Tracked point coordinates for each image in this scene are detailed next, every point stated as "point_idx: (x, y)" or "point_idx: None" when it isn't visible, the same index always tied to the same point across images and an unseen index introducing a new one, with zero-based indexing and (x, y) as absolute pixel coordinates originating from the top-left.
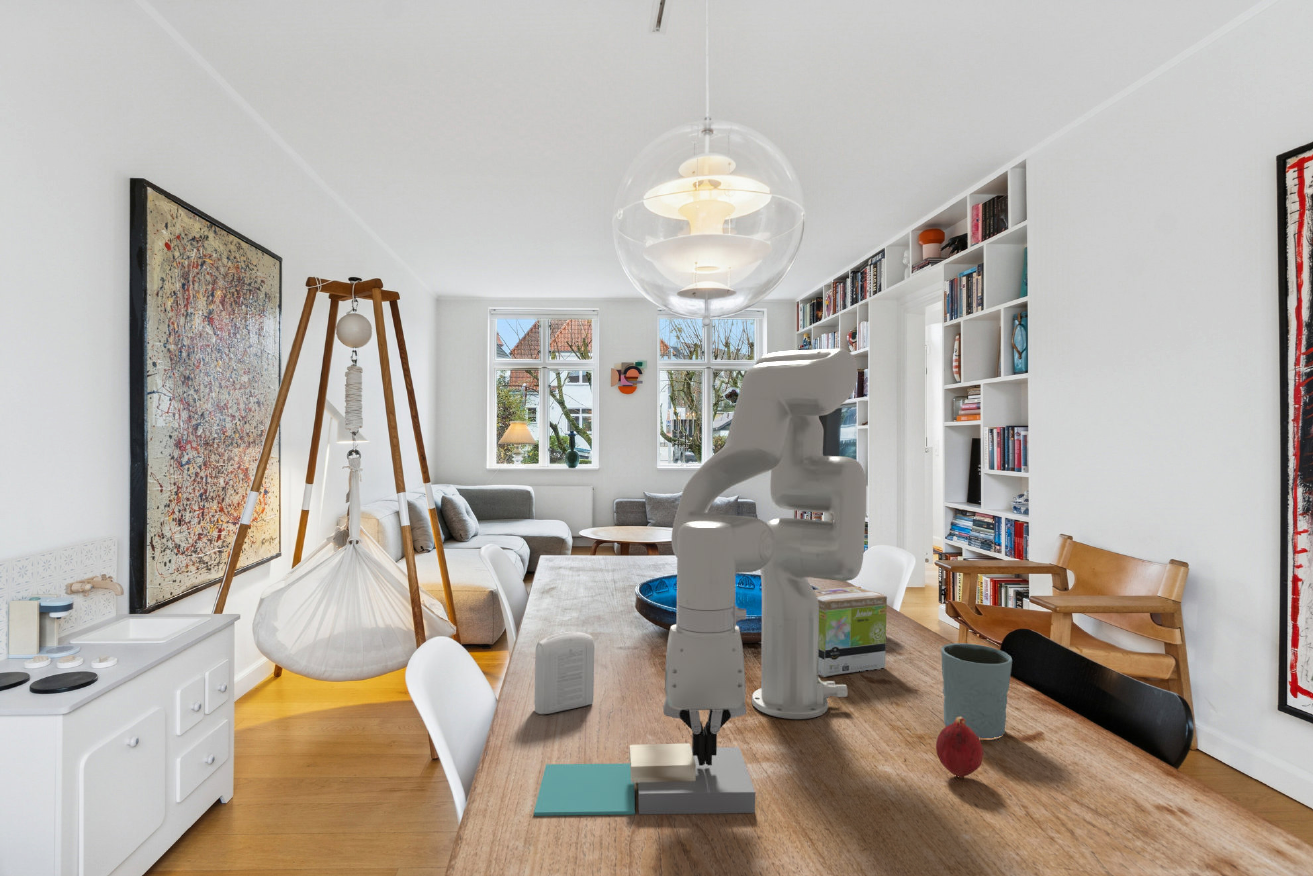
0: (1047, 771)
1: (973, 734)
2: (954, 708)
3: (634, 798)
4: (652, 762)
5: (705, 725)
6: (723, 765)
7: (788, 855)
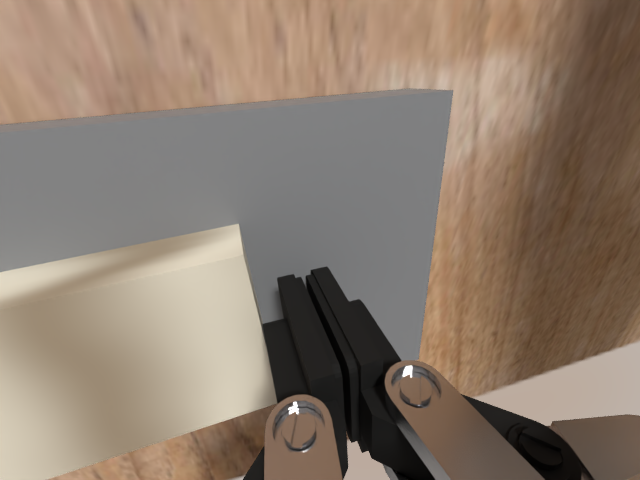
0: None
1: None
2: None
3: None
4: (98, 440)
5: (360, 373)
6: (365, 254)
7: None
